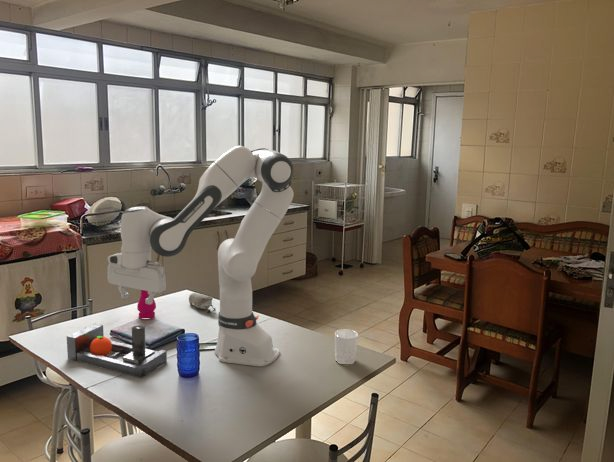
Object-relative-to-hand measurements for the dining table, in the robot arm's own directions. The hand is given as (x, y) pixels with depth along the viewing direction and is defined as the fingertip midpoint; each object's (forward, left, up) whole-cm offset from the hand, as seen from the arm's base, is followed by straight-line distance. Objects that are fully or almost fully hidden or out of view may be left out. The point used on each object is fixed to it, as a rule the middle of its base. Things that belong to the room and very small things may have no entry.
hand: (136, 301), depth 159 cm
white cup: (-59, -34, -22) cm, 72 cm away
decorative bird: (+12, -54, -22) cm, 59 cm away
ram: (0, 0, -22) cm, 22 cm away
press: (+9, 0, -22) cm, 24 cm away
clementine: (+16, 0, -22) cm, 27 cm away
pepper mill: (+26, -36, -22) cm, 49 cm away
